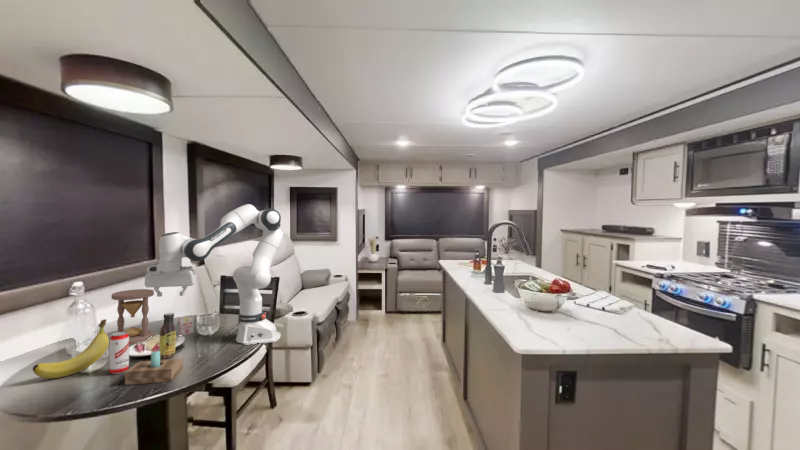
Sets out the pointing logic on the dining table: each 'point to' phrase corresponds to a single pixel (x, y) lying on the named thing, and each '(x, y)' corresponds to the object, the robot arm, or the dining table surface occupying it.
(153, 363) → the peg
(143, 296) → the hourglass
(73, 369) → the banana
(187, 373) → the dining table surface
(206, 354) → the dining table surface
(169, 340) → the sauce bottle
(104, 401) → the dining table surface
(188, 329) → the white red printed box
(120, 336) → the beer can
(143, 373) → the socket block
